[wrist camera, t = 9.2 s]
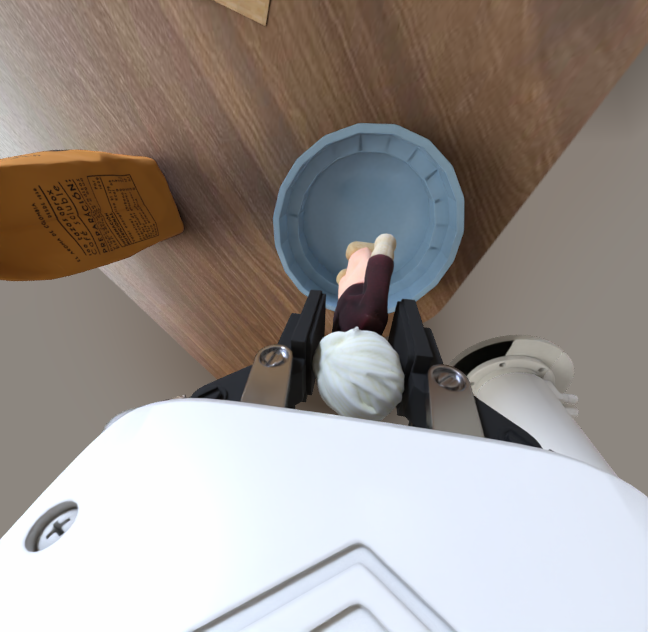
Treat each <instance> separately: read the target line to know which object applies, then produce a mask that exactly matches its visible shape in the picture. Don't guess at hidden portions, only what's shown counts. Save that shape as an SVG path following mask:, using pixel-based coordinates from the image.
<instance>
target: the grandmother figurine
mask: <svg viewBox="0 0 648 632" xmlns="http://www.w3.org/2000/svg"><path fill="white" fill-rule="evenodd" d="M396 244H397V243H396V239H395V238H394V237H393V236H392V235H391V234H387V233H386V234H381V235H380V236H378V237H377V238H376V240H375V243H367V242H360V241H355V242H352V243H350V244H349V245H348V247H347V250H346V258H347V260H348V261H349V262H348V267H347V269H343V270H341V271H340V272H339V274H338V275H337V278H336V281H337V283H338V285H339V289H338V293H339V294H338V302H337V306H336V309H335V312H334V318H333V329H332V333H331V334H329V335H327V336H325V337H324V338H323V339H322V340H321V341H320V342H319V345H318V347H317V349H316V351H315V353H314V355H313V362H312V367H313V371H314V374H315V377H316V381H317V386H318V390H319V393H320V396H321V397H322V399H323V400H324V402H325V403H326V404H327V405H328V406H329V407H330V408H331V409H333V410H335V411H336V412H337V413H338V414H339V415H340V416H345V417H352V418H358V419H365V420H372V421H381V420H382V419H383V418H384V417H386V416H387V415H388V414H390V412H391V411H392V410H393V409H394V408H395V407H396V406H397V404H398V403H400V402H401V400H402V393H403V392H404V377H405V375H404V373H403V371H402V367H401V364H400V359H399V355H398V353H397V352H396V351H395V350H394V349H393V348H392V346H391V345H390V344H389V342H388V341H387V340H386V339H385V338H383V337H382V336H381V335H382V333H383V331H384V329H385V327H386V324H387V321H388V308H387V307H388V293H389V287H390V281H391V276H392V273H393V270H394V251H395V249H396Z"/></svg>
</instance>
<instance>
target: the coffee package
mask: <svg viewBox="0 0 648 632" xmlns="http://www.w3.org/2000/svg"><path fill="white" fill-rule="evenodd" d="M183 229H184V227H183V222H182V220H181V218H180V215H179V212H178V209H177V207H176V204H175V202H174V200H173V197H172V195H171V193H170V190H169V187H168V184H167V181H166V179H165V177H164V175H163V174H162V172H161V171H160V169H159V167H158V165H157V163H156V162H155V160H153V159H151V158H148V157H142V156H129V155H121V154H112V153H106V152H98V151H88V150H51V151H42V152H36V153H31V154H25V155H20V156H14V157H8V158H3V159H0V280H6V281H32V280H33V281H34V280H52V279H56V278H61V277H65V276H70V275H73V274H77V273H81V272H85V271H87V270H90V269H94V268H98V267H101V266H104V265H108V264H110V263H113V262H116V261H119V260H122V259H125V258H128V257H131V256H132V255H134V254H136V253H138V252H139V251H141V250H143V249H145V248H147V247H150V246H152V245H154V244H156V243H158V242H160V241H163V240H165V239H168V238H170V237H173V236H175V235H178V234H180V233H182V232H183Z"/></svg>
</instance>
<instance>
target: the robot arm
mask: <svg viewBox="0 0 648 632" xmlns="http://www.w3.org/2000/svg"><path fill="white" fill-rule="evenodd" d="M325 309H326V294H322V291H321V290H310V293H309V295H308V298H307V300H306V303H305V305H304V308H303V310H302V313H301V314H296V313H292V314H291V316H290V318H289V320H288V322H287V324H286V327H285V329H284V331H283V333H282V335H281V337H280V340H279V342H278V344H272V345H268V346H265V347H264V348H262V349H260V350H259V351H258V353H257V354H256V356H255V359H254V362H253V365H250V366H248V367H246V368H243V369H241V370H239V371H237V372H234V373H232V374H230V375H227V376H225V377H223V378H220V379H218V380H216V381H214V382H212V383H209V384H207V385H204V386H203V387H201V388H199V389H198V390H197V391H195V392H194V393H193V395H192V396H191V397H188V398H186V395H183V396H179V397H175V398H171V399H168V400H163V401H160V402H156V403H152V404H148V405H144V406H140V407H137V408H133V409H129V410H126V411H124V412H121V413H119V414H118V415H116V416H115V417H114V418H112V419H111V420H110V421H109V422H108V423H107V424H106V426H105V427H104V429H103V431H102V434H101V435H100V436H98V437H97V438H96V439H95V440H94V441H93V442H92V443H91V444H90V445H89V446H88V447H87V448H86V449H85V450H84V451H83V452H82V453H81V454H80V455H79V456H78V457H77V458H76V459H75V460H74V461H73V462H72V463H71V464H70V465H69V466H68V467H67V468H66V469H65V470H64V471H63V472H62V473H61V474H60V475H59V477H58V478H57V479H56V480H55V481H54V482H53V483H52V484H51V485H50V486H49V487H48V488H47V489H46V490H45V491H44V492H43V493H42V494H41V495H40V496H39V498H38V499H37V500H36V501H35V502H34V503H33V504H32V505H31V506H30V507H29V509H28V510H27V511H26V512H25V513H24V514H23V515H22V517H20V518H19V520H18V521H17V522H16V523H15V524H14V525H13V526H12V527H11V528H10V529H9V531H8V532H7V533H6V534H5V535H4V536H3V537H2V539H1V540H0V632H648V497H647V496H646V495H645V494H643V493H642V492H640V491H639V490H638V489H636V488H635V487H633V486H632V485H630V484H628V483H627V482H625V481H623V480H621V479H619V478H618V476H617V475H616V474H615V473H614V471H613V470H612V469H611V467H610V466H609V465H608V463H607V462H606V461H605V460H604V458H603V457H602V455H601V454H600V453H599V452H598V450H597V449H596V448H595V446H594V445H593V444H592V443H591V441H590V440H589V439H588V437H587V436H586V435H585V433H584V432H583V431H582V430H581V428H580V427H579V426H578V424H577V423H576V422H575V420H574V419H573V418H572V417H577V416H578V414H579V412H578V409H577V407H576V406H575V405H572V404H577V403H578V397H577V396H576V395H571V394H561V393H560V392H559V391H558V390H557V389H556V388H555V386H554V384H555V377H554V374H553V372H552V371H551V370H550V368H549V367H548V366H547V365H546V364H545V363H543V362H542V361H540V360H538V359H536V358H532V357H528V356H520V355H515V356H504V357H499V358H495V359H492V360H489V361H486V362H484V363H482V364H481V365H479V366H477V367H476V368H475V369H473V370H472V371H471V372H470V373H469V374H468V375H467V377H466V376H465V374H464V373H462V372H461V371H460V370H458V369H456V368H454V367H452V366H449V365H444V364H443V362H442V359H441V356H440V353H439V350H438V348H437V345H436V342H435V339H434V336H433V333H432V331H431V329H430V328H424V327H423V324H422V320H421V317H420V314H419V311H418V308H417V305H416V302H415V300H412V299H402V300H401V301H397V304H396V308H395V313H394V317H393V322H392V326H391V330H390V335H389V339H388V342H389V344H390V345H391V346H392V348H393V349H394V350H395V351H396V352H397V353H398V355H399V359H400V364H401V367H402V371H403V373H404V375H405V377H404V392H403V393H402V400H401V402H400V403H398V404H397V406H396V408H397V415H399V416H405V417H406V418H407V419H408V420H409V424H408V426H404V425H399V424H391V423H385V422H379V421H372V420H365V419H358V418H352V417H345V416H338V415H331V414H324V413H317V412H310V411H303V410H296V409H295V405H296V404H298V403H300V402H306V399H307V395H312V392H313V388H314V383H315V379H316V377H315V374H314V371H313V367H312V362H313V355H314V353H315V351H316V349H317V347H318V345H319V342H320V341H321V340H322V339H323V338H324V332H325ZM563 402H564V403H563ZM565 403H570V404H565Z"/></svg>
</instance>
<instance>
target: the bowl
mask: <svg viewBox="0 0 648 632" xmlns="http://www.w3.org/2000/svg"><path fill="white" fill-rule="evenodd" d="M273 224H274V237H275V246H276V250H277V252H278V255H279V257H280V260H281V262H282V265H283V268H284V270H285V272H286V273H287V275H288V276H289V277H290V279H291V280H292V281H293V282H294V284H295V285H296V286H297V288H298V289H299V290H300V291H301V292H302V293H303V294H305V295H306V296H307V297H308V295H309V293H310V290H321V291H322V294H326V308H327V309H330V310H332V311H335V309H336V306H337V302H338V294H339V293H338V289H339V285H338V283H337V281H336V278H337V275H338V274H339V272H340V271H341V270H343V269H347V267H348V262H349V261H348V260H347V258H346V250H347V247H348V245H349V244H350V243H352V242H355V241H360V242H367V243H375V240H376V238H377V237H378V236H380V235H381V234H386V233H387V234H391V235H392V236H393V237H394V238H395V239H396V243H397V244H396V249H395V251H394V270H393V273H392V276H391V281H390V287H389V293H388V307H387V308H388V313H392V312H394V311H395V308H396V304H397V301H401V300H402V299H412V300H415V302H416V301H417V300H419V299H420V298H421V297H422V296H424V295H425V294H426V293H427V292H429V291H430V290H431V289H432V288H434V287H435V286H436V285H437V284H438V282H439V281H440V280H441V278H442V277H443V275H444V274H445V273H446V271H447V270H448V269H449V267H450V266H451V264H452V263H453V261H454V259H455V256H456V253H457V250H458V247H459V245H460V242H461V239H462V236H463V233H464V196H463V193H462V190H461V188H460V185H459V182H458V179H457V176H456V174H455V171H454V168H453V166H452V164H451V163H450V162H449V161H448V160H447V159H446V158H445V157H444V156H443V154H442V153H441V152H440V151H439V150H438V149H437V148H436V147H435V146H434V144H433V143H432V142H431V141H430V140H428V139H427V138H425V137H423V136H420V135H418V134H416V133H414V132H412V131H410V130H407V129H405V128H403V127H401V126H399V125H396V124H374V123H358V124H355V125H352V126H349V127H347V128H344V129H341V130H338V131H336V132H333V133H330V134H327V135H325V136H323V137H322V138H321V139H320V140H319V141H317V142H316V143H315V144H314V145H313V146H311V147H310V148H309V149H308V150H307V151H306V152H304V153H303V154H302V155H301V156H300V157H299V158H298V159H297V160H296V161H295V163H294V165H293V166H292V168H291V170H290V172H289V173H288V175H287V177H286V178H285V180H284V182H283V183H282V185H281V187H280V190H279V194H278V198H277V203H276V207H275V211H274V216H273Z"/></svg>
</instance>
